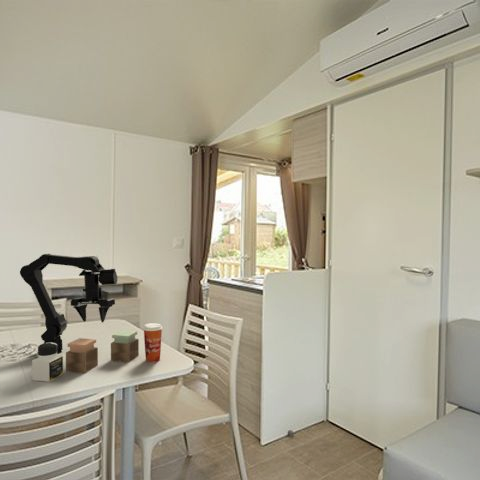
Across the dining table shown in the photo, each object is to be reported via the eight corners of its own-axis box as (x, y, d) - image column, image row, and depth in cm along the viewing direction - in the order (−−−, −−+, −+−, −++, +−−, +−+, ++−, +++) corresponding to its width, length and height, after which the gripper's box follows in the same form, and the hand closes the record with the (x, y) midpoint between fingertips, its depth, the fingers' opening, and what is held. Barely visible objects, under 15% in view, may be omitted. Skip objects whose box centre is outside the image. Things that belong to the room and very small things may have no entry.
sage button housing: (110, 360, 153) (110, 343, 152) (121, 354, 160) (121, 337, 160) (129, 361, 151) (129, 344, 151) (138, 355, 159) (138, 338, 158)
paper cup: (145, 364, 149) (145, 328, 148) (141, 358, 155) (141, 324, 155) (165, 361, 152) (165, 326, 152) (160, 355, 159) (159, 322, 159)
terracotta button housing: (65, 371, 141) (65, 352, 141) (79, 363, 149) (79, 346, 148) (85, 373, 139) (85, 354, 139) (97, 365, 147) (97, 347, 147)
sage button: (112, 352, 153) (112, 335, 153) (121, 347, 160) (121, 330, 160) (128, 354, 151) (128, 336, 151) (137, 348, 158) (137, 331, 158)
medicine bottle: (49, 382, 131) (49, 347, 130) (31, 380, 132) (31, 346, 132) (63, 374, 138) (63, 341, 137) (46, 373, 139) (45, 340, 139)
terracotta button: (67, 362, 141) (67, 343, 141) (79, 356, 148) (79, 338, 148) (84, 364, 140) (84, 344, 139) (96, 357, 147) (96, 339, 146)
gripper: (121, 283, 168) (123, 318, 168) (86, 282, 173) (88, 316, 174) (105, 286, 157) (107, 324, 158) (68, 286, 163) (70, 322, 163)
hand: (93, 321), depth 163 cm, fingers open, 9 cm apart
